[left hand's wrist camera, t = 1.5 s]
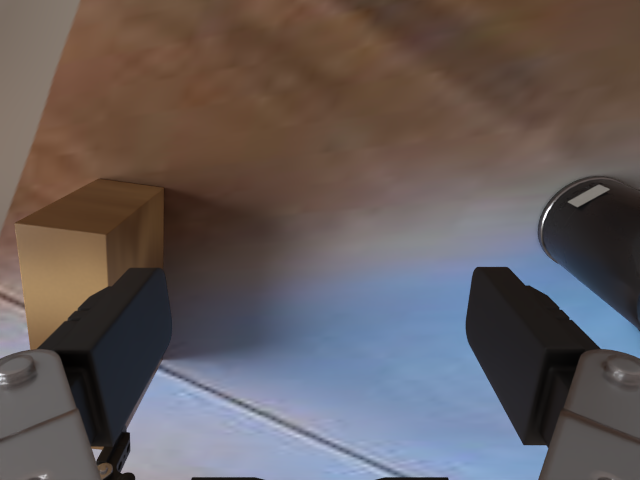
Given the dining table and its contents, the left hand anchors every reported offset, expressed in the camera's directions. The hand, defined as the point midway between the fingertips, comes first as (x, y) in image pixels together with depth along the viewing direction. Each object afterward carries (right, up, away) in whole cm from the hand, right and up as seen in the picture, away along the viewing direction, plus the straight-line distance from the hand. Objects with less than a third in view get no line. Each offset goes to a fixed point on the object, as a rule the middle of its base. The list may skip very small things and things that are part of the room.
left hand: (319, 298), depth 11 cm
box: (-19, -2, +33) cm, 39 cm away
